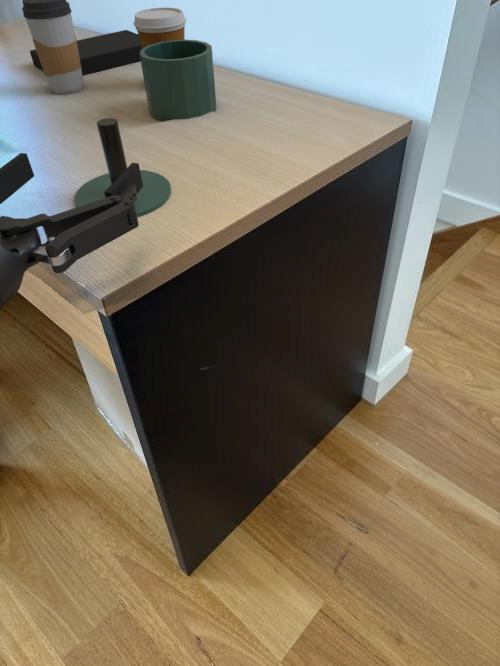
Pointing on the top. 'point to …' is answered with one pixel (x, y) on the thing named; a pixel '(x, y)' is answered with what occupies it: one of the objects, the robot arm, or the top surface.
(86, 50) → the external hard drive
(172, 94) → the pot
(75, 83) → the coffee cup
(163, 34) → the disposable coffee cup
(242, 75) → the top surface
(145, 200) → the lid
